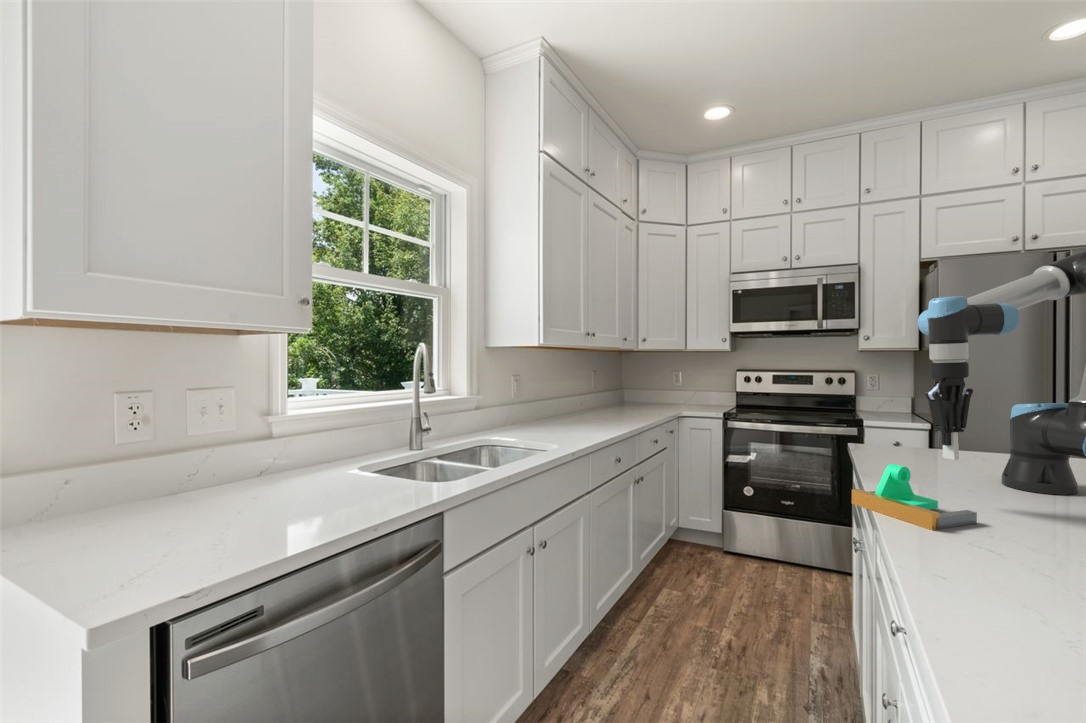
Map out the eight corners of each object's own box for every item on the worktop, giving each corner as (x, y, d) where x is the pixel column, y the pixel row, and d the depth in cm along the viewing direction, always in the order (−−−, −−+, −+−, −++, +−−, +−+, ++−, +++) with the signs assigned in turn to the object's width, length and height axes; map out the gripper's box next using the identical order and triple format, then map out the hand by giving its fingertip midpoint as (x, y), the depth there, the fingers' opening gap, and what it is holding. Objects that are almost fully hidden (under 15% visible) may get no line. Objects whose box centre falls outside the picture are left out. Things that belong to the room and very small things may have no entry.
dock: (892, 499, 134) (892, 485, 134) (976, 523, 115) (976, 507, 115) (851, 503, 131) (851, 489, 131) (932, 530, 112) (932, 513, 111)
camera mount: (903, 518, 120) (904, 473, 120) (872, 508, 127) (873, 466, 127) (940, 512, 124) (940, 468, 124) (907, 503, 131) (908, 462, 131)
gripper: (952, 359, 133) (954, 453, 134) (913, 362, 129) (915, 458, 130) (984, 360, 126) (986, 458, 127) (944, 362, 122) (947, 464, 123)
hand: (950, 458), depth 128 cm, fingers closed
